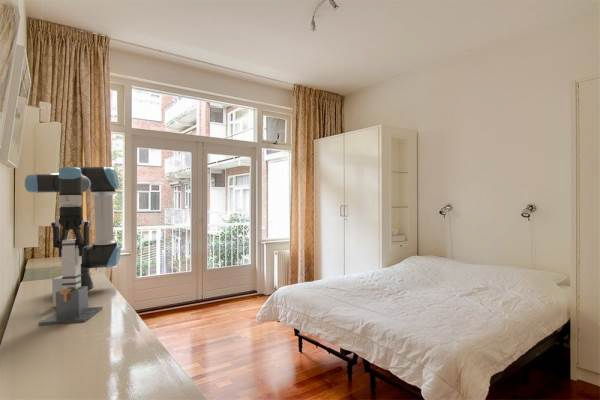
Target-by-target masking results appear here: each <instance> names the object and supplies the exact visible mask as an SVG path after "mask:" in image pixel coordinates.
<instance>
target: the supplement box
mask: <svg viewBox="0 0 600 400" xmlns="http://www.w3.org/2000/svg"><path fill="white" fill-rule="evenodd" d="M62 277H63V275H60V276H57V277H54V278H51V279H52V280H51V281H52V282H51V283H52V307H53V308H56V292H57V291H59V290H61V289H63V286H62V283H63V279H62Z"/></svg>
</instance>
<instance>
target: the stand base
mask: <svg viewBox="0 0 600 400" xmlns="http://www.w3.org/2000/svg"><path fill="white" fill-rule="evenodd" d="M88 291H89V289H88V286H82V288H80V289H78V290H71V289H65V290H63V289H61V290H59V291H57V292H56V307H55V312H54V313H52V314H50V315H49V316H47V317H45V318H44V319H43V320H41V321H39V322H38V326H46V325H47V326H49V325H60V324H61V325H62V324H74V323H76V324H77V323H86V322H88V321H89V320H90V319H91V318H93V317H94V316H95V315H97V314H98V313H99V312H100V311H102V310H103V306H93V307H92V306H90V307H89V297H88V296H89V294H88V293H89V292H88Z"/></svg>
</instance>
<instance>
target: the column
mask: <svg viewBox="0 0 600 400" xmlns="http://www.w3.org/2000/svg"><path fill="white" fill-rule="evenodd" d="M61 246H62V255H63V266H62V276H63V277H62V279H63V283H62V286H63V290H65V289H71V290H78V289H80V288H82V286H81V282H82V280H81V276H82V274H81V264H80V265H76V248H77V247H78V245H77V241H76V238H67V239H66V240H62V244H61Z"/></svg>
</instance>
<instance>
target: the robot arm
mask: <svg viewBox="0 0 600 400" xmlns="http://www.w3.org/2000/svg"><path fill="white" fill-rule="evenodd" d="M119 184H120V183H119V176H118V173H117V171H116V169H115V168H114V167H111V166H110V167H109V166H77V167H75V166H73V167H72V166H62V167H60V168H59V169H58V172H51V173H43V174H40V173H38V174H37V173H35V174H28V175H26V177H25V178H24V187H25V190H26V191H27V192H28V193H37V194H38V193H40V194H41V193H42V194H43V193H58V198H59V199H58V200H59V201H58V202H59V203H58V204H59V206H60V207H59V209H58V210H59V211H58V212H59V219H58V221H55V222H51V224H50V225H51V228H52V239H53V240H52V241H53V243H52V244H53V245H52V246H53V247H54V248H55V249H56V248H57V249H58V253H59V254H58V256H59V258H61V266H62V267H63V255H62V246H61V244H62V240H66V239H68V235H69V232H70V230H72V232H73V234H74V237H75V239H76V241H77V245H78V247H77V248H76V265H80V264H81V274H82V276H81V280H82V282H81V286H88V290H91V289H93V288H94V282H93V279H92V277H91V274H90V269H100V268H101V269H102V268H107V269H108V268H114V267H117V265H118V264H119V262H120V258H121V251H122V249H121V245H120V244H118V241H117V240H115V238H114V212H113V211H114V210H113V208H114V205H113V203H114V202H113V195H114V194H115V193H116V189H119ZM87 191H89V192H90V193H91V194H92V195H93V205H94V206H93V207H94V208H93V209H94V210H93V211H94V234H95V235H94V237H95V240H94V241H93V242H92V244H91V246H90V226H91V221H87V220H85V219H84V218H83V207H82V205H83V197H82V194H83V193H85V192H87ZM81 225H82V232H81ZM60 226H61V227H62V229H60ZM60 230H61V235H60Z"/></svg>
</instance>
